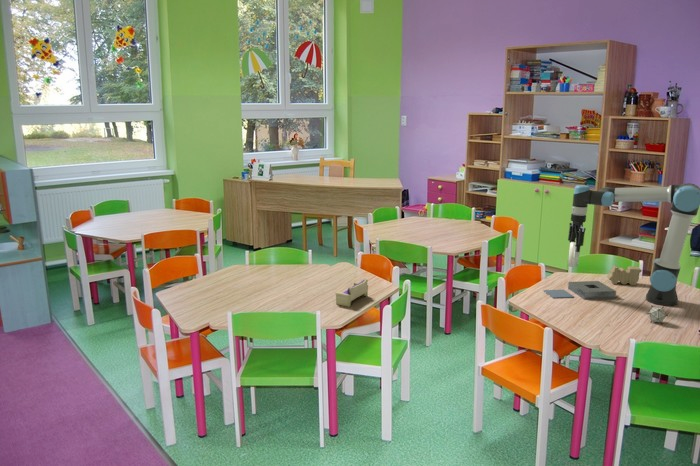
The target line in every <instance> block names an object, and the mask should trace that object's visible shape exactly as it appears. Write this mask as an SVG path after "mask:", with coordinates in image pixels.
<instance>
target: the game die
mask: <svg viewBox="0 0 700 466" xmlns="http://www.w3.org/2000/svg"><path fill="white" fill-rule="evenodd" d="M664 308H665V307H664V306H662V307H657V306H653V305H651V308H650V310H649V312H647V313H646V315H648V317H649V319H650V323H652V322H653V323H661V325H663V324H664V323H663V322H664V320H665V319H666V317H668V314H666V312H665V310H664Z"/></svg>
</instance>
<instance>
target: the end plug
mask: <svg viewBox="0 0 700 466" xmlns="http://www.w3.org/2000/svg"><path fill="white" fill-rule="evenodd" d="M575 245H576V242H571V243H570V242H569V248H570V252H569V251H568V262H567V267H570V268H577V267H579V266H578V265H579V258H580V257H579V258H574V249H575Z"/></svg>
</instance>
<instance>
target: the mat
mask: <svg viewBox="0 0 700 466" xmlns="http://www.w3.org/2000/svg"><path fill="white" fill-rule="evenodd" d="M542 291H543V292H544V293H545V292H546V293H545V294H546V295H548V296H549V295H550V296H549V297H550V298H552V299H568V298H569V299H573V298H575V296H574V295H573V294H571V293H570V292H568V291H567V290H565V289H543V290H542Z"/></svg>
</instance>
